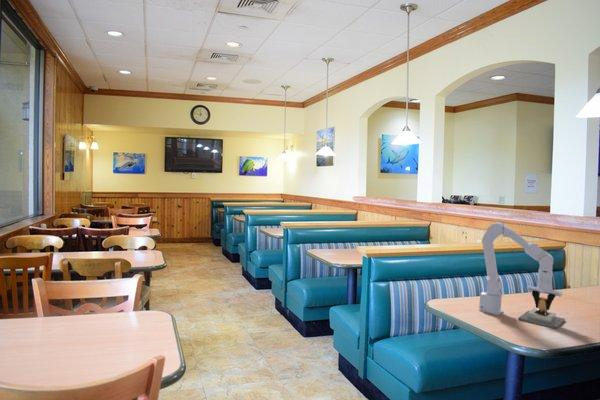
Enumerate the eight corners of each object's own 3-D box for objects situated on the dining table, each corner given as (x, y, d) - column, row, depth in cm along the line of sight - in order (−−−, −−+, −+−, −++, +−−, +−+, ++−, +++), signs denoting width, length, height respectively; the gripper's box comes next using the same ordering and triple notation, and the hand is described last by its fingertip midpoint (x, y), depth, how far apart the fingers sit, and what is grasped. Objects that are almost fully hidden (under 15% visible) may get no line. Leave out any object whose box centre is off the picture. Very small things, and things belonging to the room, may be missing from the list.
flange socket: (518, 319, 213) (518, 312, 212) (528, 312, 225) (528, 305, 224) (556, 328, 202) (557, 321, 202) (564, 320, 214) (565, 313, 214)
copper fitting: (535, 313, 213) (536, 298, 212) (539, 311, 216) (540, 296, 215) (545, 315, 210) (546, 300, 209) (548, 313, 213) (549, 298, 212)
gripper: (525, 278, 214) (523, 306, 215) (560, 284, 204) (557, 314, 205) (529, 275, 219) (527, 303, 220) (563, 281, 209) (561, 310, 210)
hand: (542, 308), depth 213 cm, fingers closed on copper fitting, 4 cm apart
